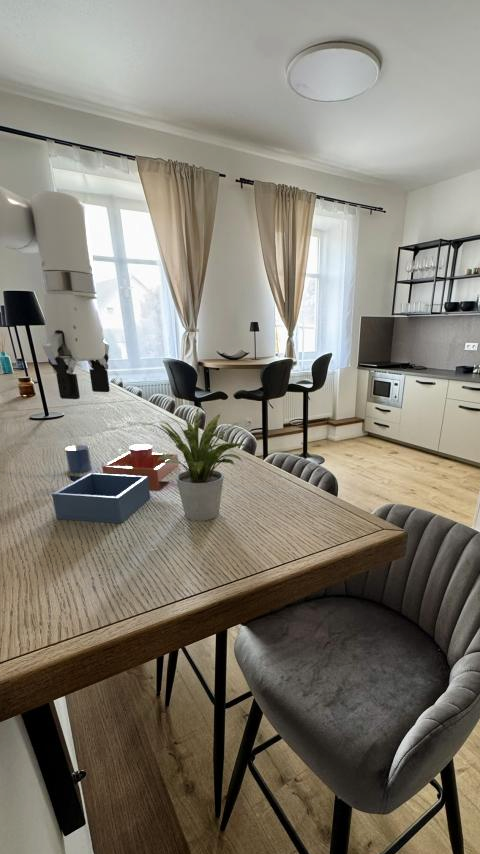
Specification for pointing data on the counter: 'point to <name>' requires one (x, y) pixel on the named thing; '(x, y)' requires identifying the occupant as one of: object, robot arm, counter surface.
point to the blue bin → (101, 498)
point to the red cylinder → (142, 456)
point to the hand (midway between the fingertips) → (86, 395)
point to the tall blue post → (78, 460)
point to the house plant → (200, 469)
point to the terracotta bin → (143, 469)
